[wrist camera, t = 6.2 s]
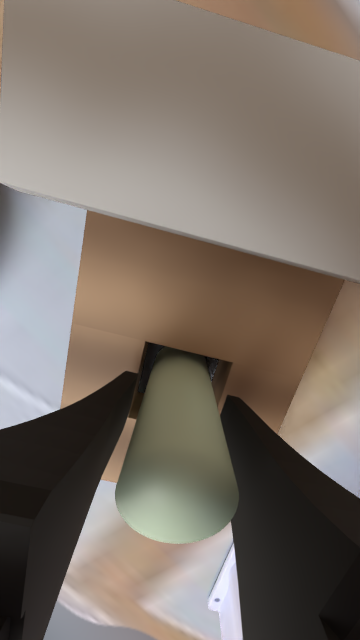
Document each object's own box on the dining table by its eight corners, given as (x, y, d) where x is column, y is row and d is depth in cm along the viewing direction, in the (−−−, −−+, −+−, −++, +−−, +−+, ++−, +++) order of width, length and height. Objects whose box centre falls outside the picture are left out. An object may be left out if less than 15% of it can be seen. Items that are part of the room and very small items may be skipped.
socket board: (234, 471, 15) (275, 631, 9) (73, 436, 15) (-19, 578, 8) (337, 214, 11) (573, 131, 4) (118, 151, 11) (6, -56, 4)
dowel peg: (198, 395, 14) (217, 553, 6) (148, 383, 14) (105, 530, 6) (213, 349, 13) (256, 464, 5) (160, 336, 13) (128, 435, 5)
